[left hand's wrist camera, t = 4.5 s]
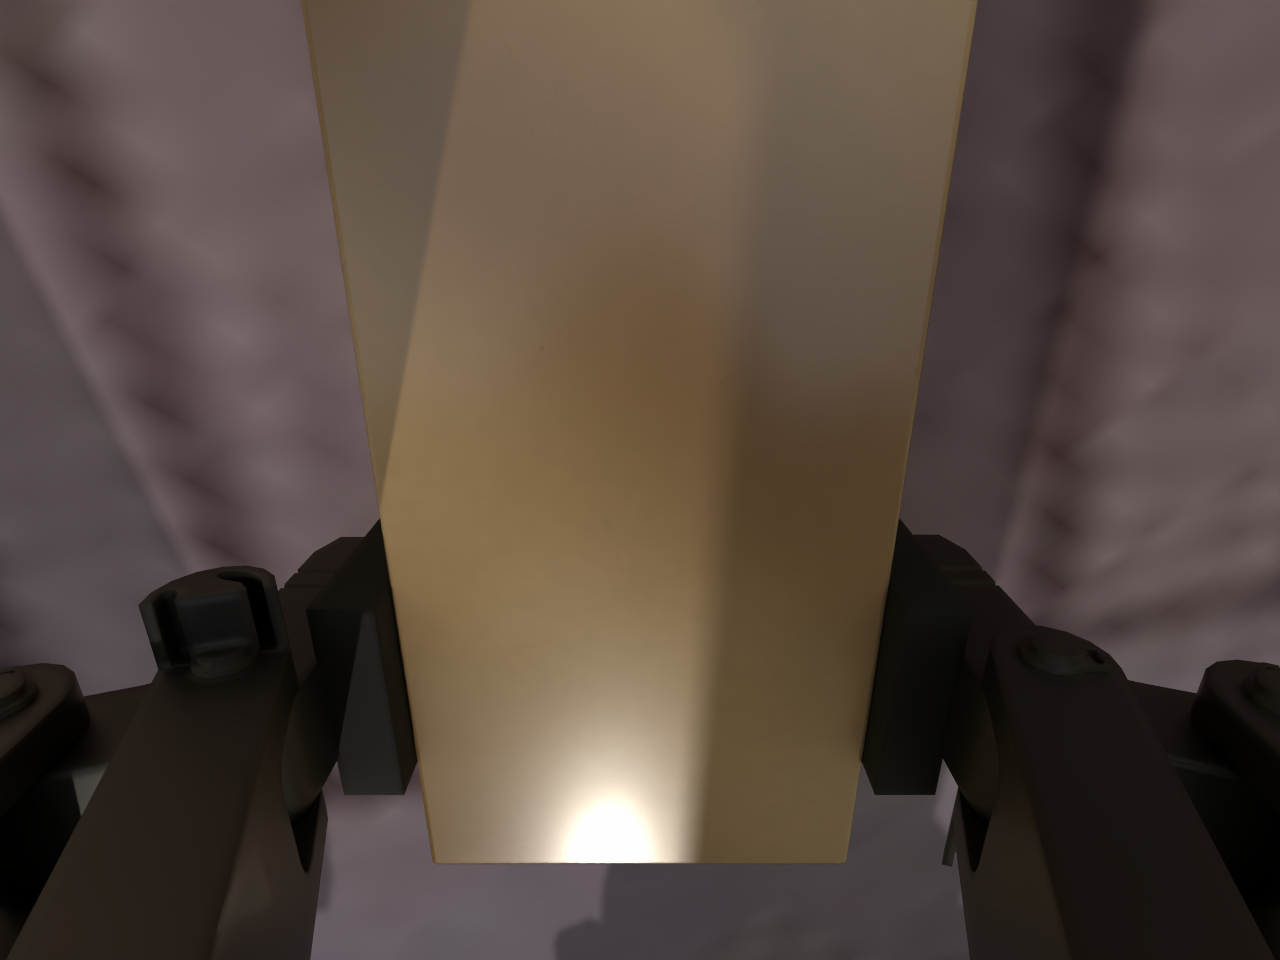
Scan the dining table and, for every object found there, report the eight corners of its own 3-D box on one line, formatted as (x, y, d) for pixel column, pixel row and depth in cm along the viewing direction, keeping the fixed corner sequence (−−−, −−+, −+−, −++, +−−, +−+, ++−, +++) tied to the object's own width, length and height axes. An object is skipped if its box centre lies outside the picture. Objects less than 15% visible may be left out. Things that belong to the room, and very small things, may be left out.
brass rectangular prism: (450, -484, 11) (-76, -2375, 3) (828, -484, 11) (1350, -2365, 3) (523, 569, 18) (430, 867, 10) (754, 569, 18) (848, 867, 10)
